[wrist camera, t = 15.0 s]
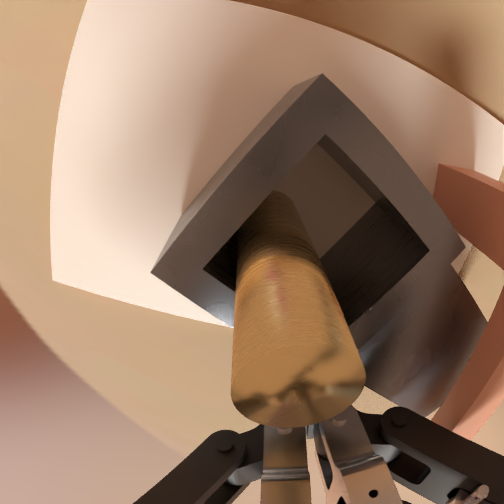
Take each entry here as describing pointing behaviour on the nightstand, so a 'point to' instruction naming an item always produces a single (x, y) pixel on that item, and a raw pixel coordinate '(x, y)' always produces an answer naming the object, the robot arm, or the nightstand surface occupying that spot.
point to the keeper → (500, 323)
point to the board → (222, 131)
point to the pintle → (288, 326)
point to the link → (343, 246)
